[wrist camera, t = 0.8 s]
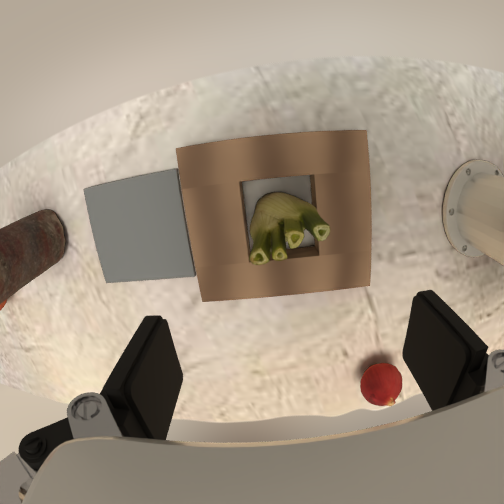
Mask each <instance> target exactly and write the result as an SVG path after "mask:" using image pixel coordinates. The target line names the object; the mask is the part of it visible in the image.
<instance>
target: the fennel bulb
mask: <svg viewBox="0 0 504 504" xmlns="http://www.w3.org/2000/svg"><path fill="white" fill-rule="evenodd" d="M305 229H307V230H308V231H309V232H310V233H311V234H312V235H313V236H314V237H315V238H316V239H317V240H318V241H324V240H326V239H327V237H328V236H329V234H330V226H329V224H328V223H326V222H325V221H324V220H323V219H322V218H321V217H320V215H319V214H318V212H317V209H316V207H314V206H313V205H312V204H310V203H308V202H306V201H303V200H302V199H299V198H297V197H295V196H292V195H290V194H287V193H283V192H273V193H269V194H266V195H264V196H263V197H262V198H260V199H259V200H258V202H257V204H256V207H255V212H254V215H253V217H252V220H251V224H250V235H251V237H252V239H253V247H252V251H251V253H250V256H249V260H250V261H251V263H252V264H254V265H262V264H266V263H268V262H269V260H270V256H271V253H272V258H273V259H274V260H275V261H282V260H285V259H287V257H288V256H287V253H286V242H288V245H289V247H290V248H291V249H293V248H297V247H298V246H299V245H300V244H301V242H302V240H303V238H304V232H303V231H304V230H305Z"/></svg>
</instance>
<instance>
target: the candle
mask: <svg viewBox="0 0 504 504" xmlns="http://www.w3.org/2000/svg"><path fill="white" fill-rule="evenodd" d="M64 246H65V238H64V233H63V226H62V224H61V223H60V221H59V219H58V218H57V216H56V214H55V212H53V211H52V210H41V211H38V212H36V213H34V214H31V215H29V216H27V217H24V218H22V219H20V220H18V221H16V222H14V223H11V224H10V225H8V226H5V227H3V228H1V229H0V304H1V303H3V302H4V301H5V300H7V299H8V298H9V297H10V296H12V295H13V294H14V293H15V292H17V291H18V290H19V289H21V288H22V287H23V286H25V285H26V284H28V283H29V282H30V281H32V280H33V279H35V278H36V277H38V276H39V275H40V274H42V273H43V272H44V271H46V270H47V269H49V268H50V267H51V266H53V265H54V264H56V263H57V262H58V261H59V260H60V259H61V258H62V257H63V254H64V253H63V252H64Z"/></svg>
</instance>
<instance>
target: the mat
mask: <svg viewBox="0 0 504 504" xmlns="http://www.w3.org/2000/svg"><path fill="white" fill-rule="evenodd" d="M84 194H85V199H86V205H87V210H88V214H89V219H90V224H91V228H92V232H93V236H94V241H95V245H96V248H97V252H98V256H99V260H100V263H101V267H102V270H103V274H104V277H105V281H106V283H114V282H129V281H143V280H156V279H170V278H183V277H195V275H196V272H195V267H194V262H193V257H192V251H191V246H190V241H189V235H188V229H187V224H186V218H185V212H184V206H183V200H182V194H181V187H180V181H179V174H178V169H173V170H167V171H162V172H157V173H151V174H146V175H141V176H137V177H132V178H127V179H123V180H118V181H114V182H110V183H105V184H101V185H97V186H93V187H89V188H85V189H84Z"/></svg>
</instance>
